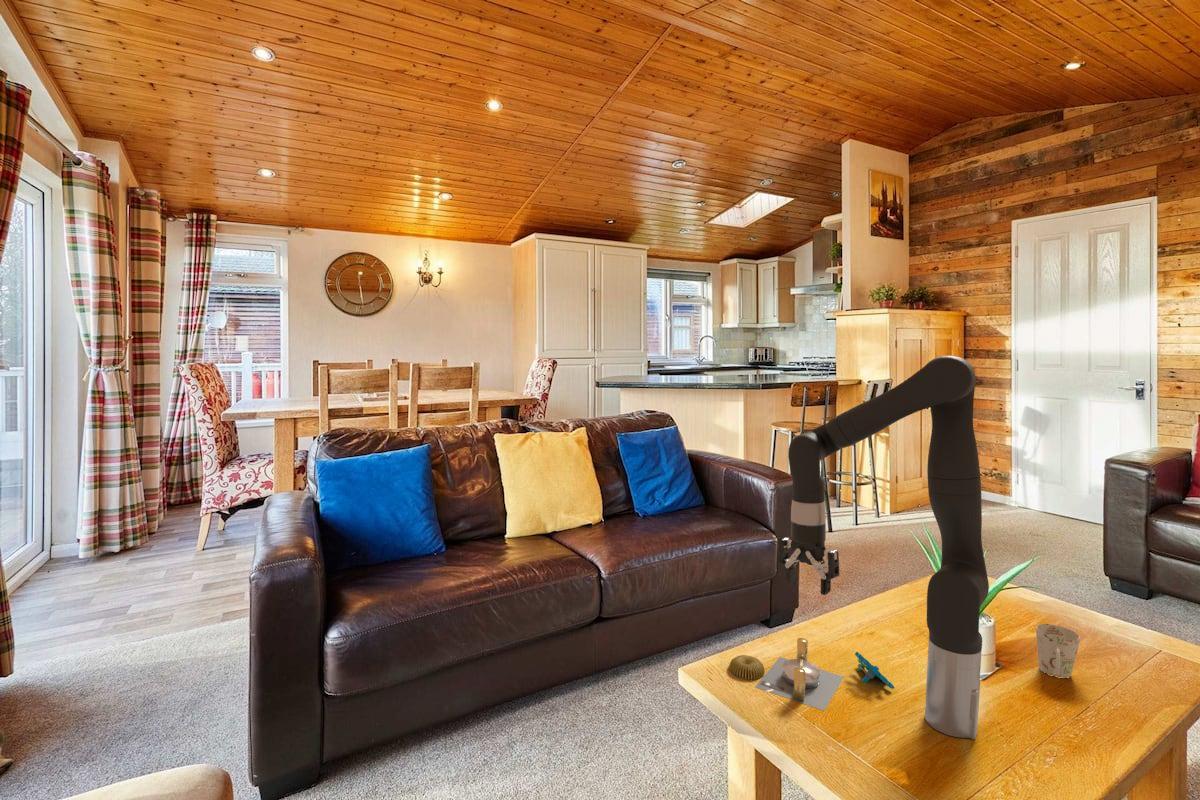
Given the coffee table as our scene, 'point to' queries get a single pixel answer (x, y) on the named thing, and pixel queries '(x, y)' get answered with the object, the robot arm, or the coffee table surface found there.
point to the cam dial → (801, 671)
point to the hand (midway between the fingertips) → (807, 588)
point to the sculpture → (746, 666)
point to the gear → (870, 670)
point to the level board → (813, 696)
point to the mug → (1056, 649)
